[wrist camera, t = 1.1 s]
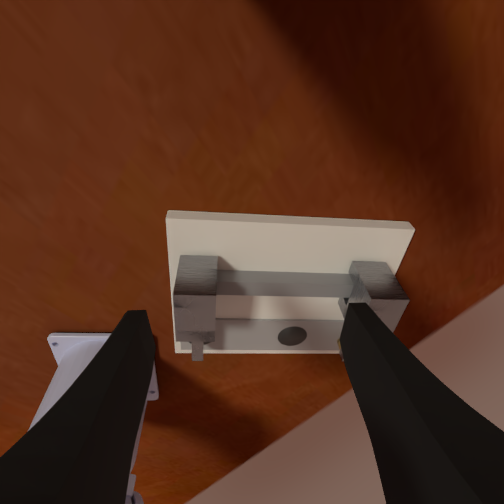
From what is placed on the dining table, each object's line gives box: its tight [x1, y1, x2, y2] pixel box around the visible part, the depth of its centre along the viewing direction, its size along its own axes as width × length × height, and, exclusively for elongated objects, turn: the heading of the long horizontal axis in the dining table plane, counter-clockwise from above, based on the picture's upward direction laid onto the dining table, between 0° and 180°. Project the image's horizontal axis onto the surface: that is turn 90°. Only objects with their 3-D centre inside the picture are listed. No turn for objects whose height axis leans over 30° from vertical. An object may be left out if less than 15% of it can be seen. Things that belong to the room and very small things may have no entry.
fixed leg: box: [173, 255, 218, 361], centre depth 22 cm, size 8×2×4 cm, turn 175°
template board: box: [166, 210, 415, 354], centre depth 25 cm, size 13×16×2 cm
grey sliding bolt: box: [337, 261, 410, 361], centre depth 24 cm, size 8×2×4 cm, turn 175°
